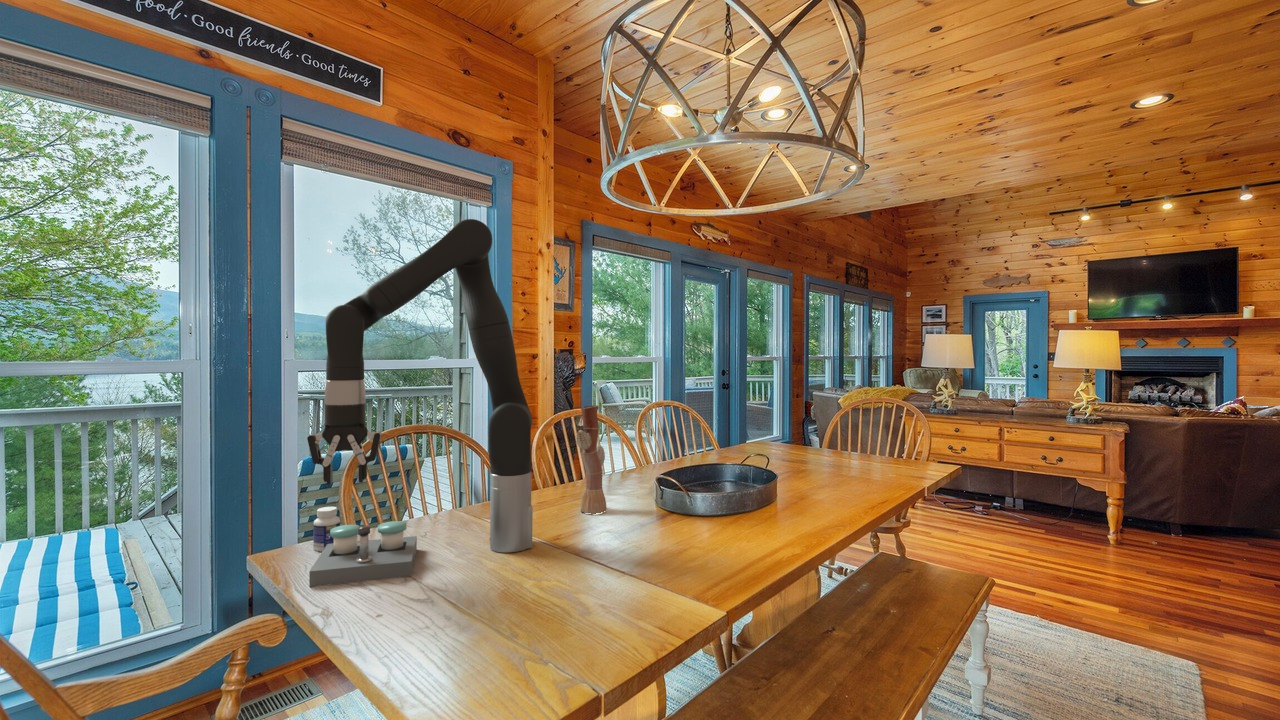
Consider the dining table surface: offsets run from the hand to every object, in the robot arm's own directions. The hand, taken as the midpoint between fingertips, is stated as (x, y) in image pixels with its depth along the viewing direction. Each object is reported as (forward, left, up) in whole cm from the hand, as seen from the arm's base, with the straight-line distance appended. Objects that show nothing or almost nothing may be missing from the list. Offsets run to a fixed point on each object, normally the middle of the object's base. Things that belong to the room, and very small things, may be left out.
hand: (345, 482), depth 118 cm
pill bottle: (+6, -13, -18) cm, 23 cm away
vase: (-58, -24, -18) cm, 65 cm away
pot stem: (-4, +7, -14) cm, 17 cm away
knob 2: (-9, 0, -14) cm, 17 cm away
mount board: (-4, +2, -17) cm, 18 cm away
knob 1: (0, 0, -14) cm, 14 cm away
